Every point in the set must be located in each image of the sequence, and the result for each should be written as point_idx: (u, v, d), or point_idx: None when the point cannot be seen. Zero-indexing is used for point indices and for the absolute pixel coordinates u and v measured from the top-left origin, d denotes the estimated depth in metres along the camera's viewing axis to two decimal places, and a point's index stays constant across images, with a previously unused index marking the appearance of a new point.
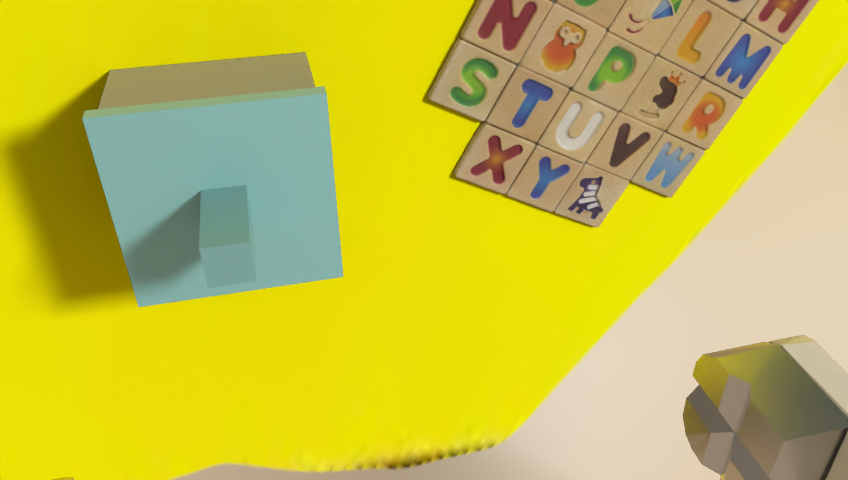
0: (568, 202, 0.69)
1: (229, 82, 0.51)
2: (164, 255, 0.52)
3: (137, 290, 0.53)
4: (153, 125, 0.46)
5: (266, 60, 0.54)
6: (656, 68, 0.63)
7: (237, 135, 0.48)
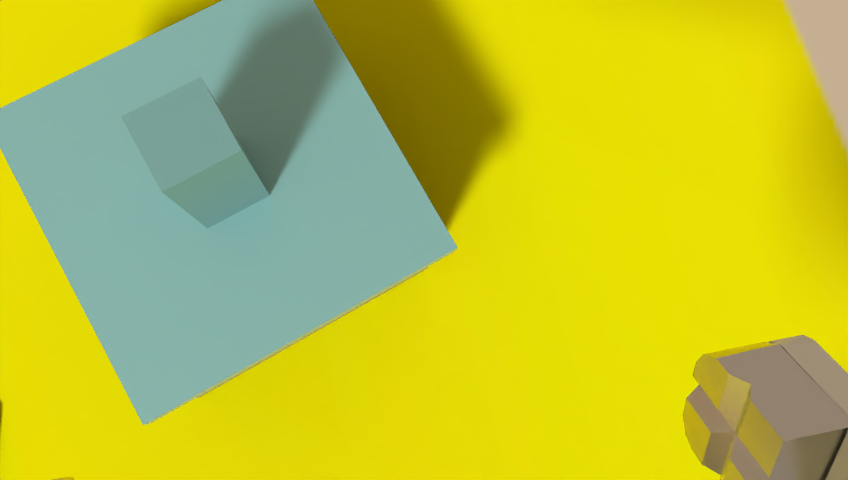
0: None
1: None
2: (285, 68, 0.33)
3: None
4: (367, 273, 0.32)
5: (246, 369, 0.39)
6: None
7: (248, 303, 0.31)
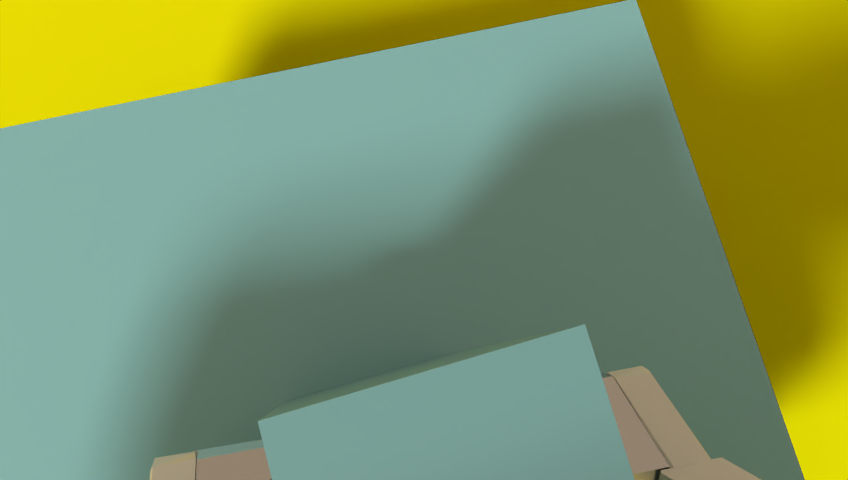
0: None
1: None
2: (581, 216, 0.14)
3: (647, 65, 0.15)
4: None
5: None
6: None
7: None
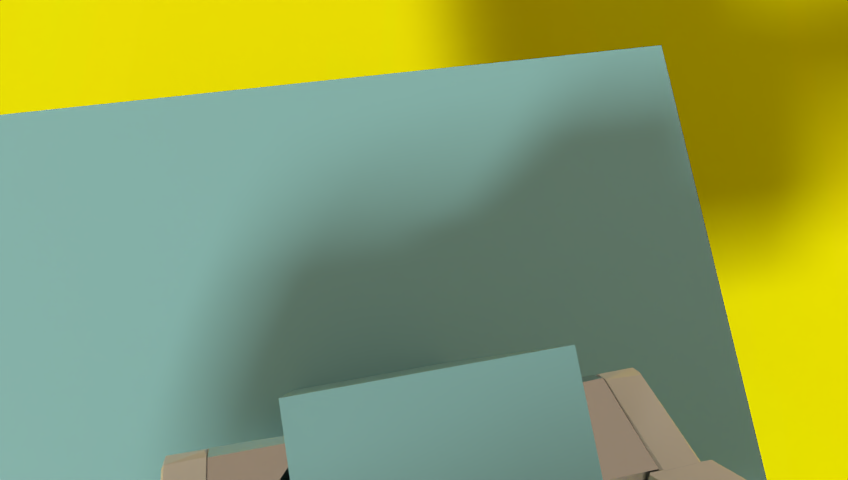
0: None
1: None
2: (589, 245, 0.15)
3: (666, 109, 0.16)
4: None
5: None
6: None
7: None
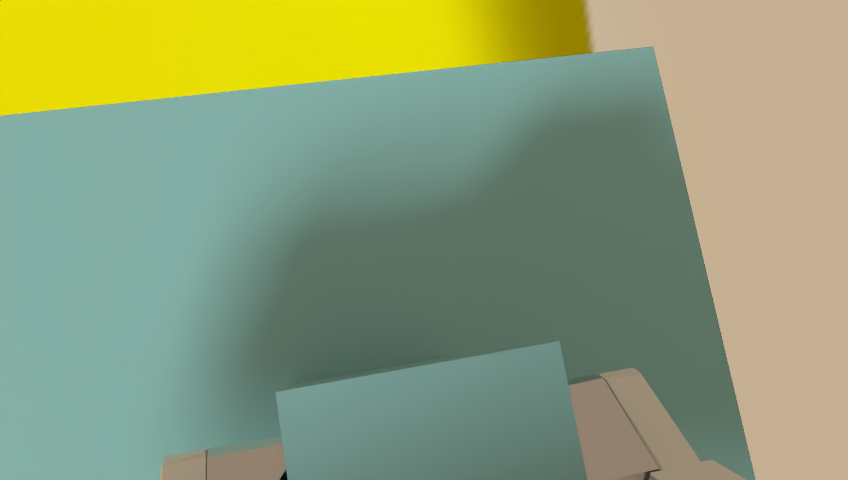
0: None
1: None
2: (581, 243, 0.16)
3: (657, 110, 0.16)
4: None
5: None
6: None
7: None
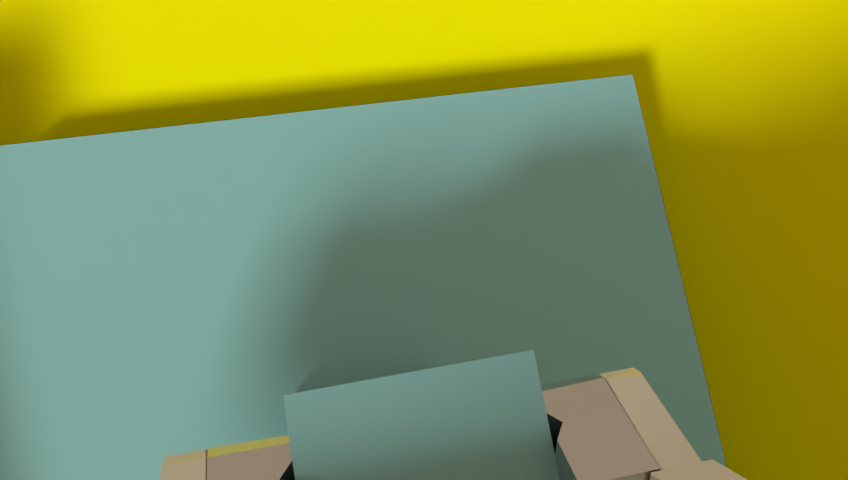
0: None
1: None
2: (565, 259, 0.17)
3: (637, 134, 0.17)
4: None
5: None
6: None
7: None
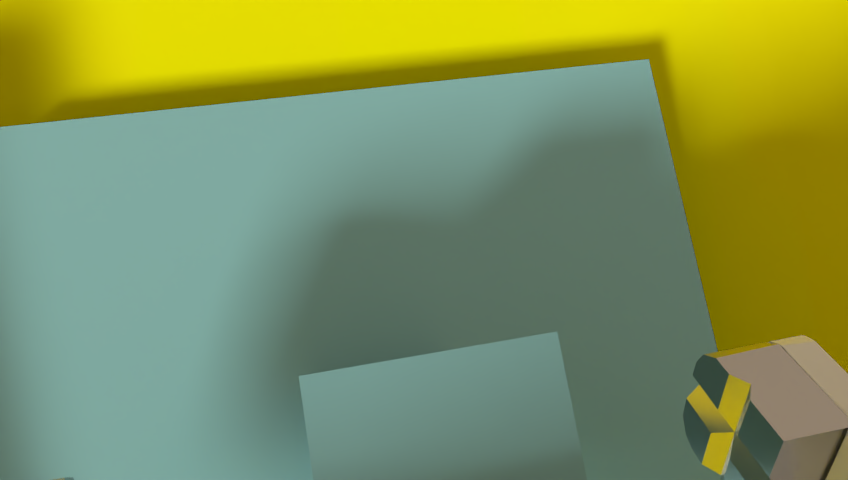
0: None
1: None
2: (579, 246, 0.16)
3: (653, 119, 0.17)
4: None
5: None
6: None
7: None
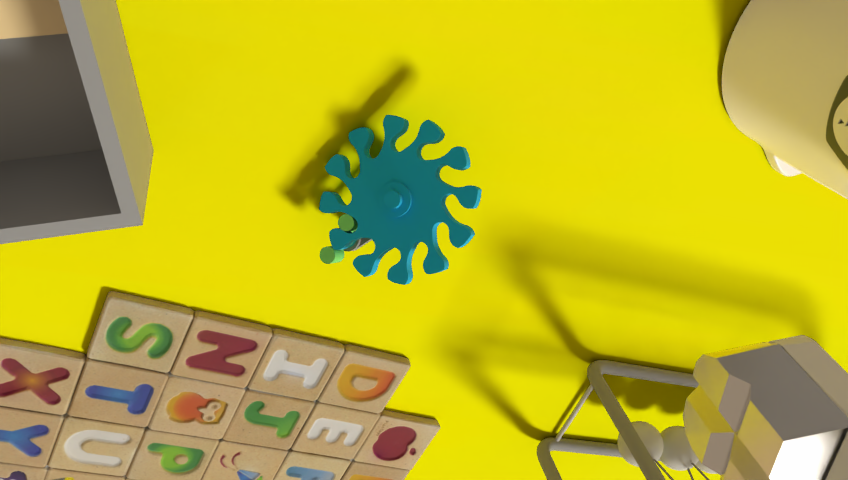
0: None
1: (121, 88, 0.36)
2: None
3: None
4: None
5: (140, 111, 0.40)
6: None
7: None
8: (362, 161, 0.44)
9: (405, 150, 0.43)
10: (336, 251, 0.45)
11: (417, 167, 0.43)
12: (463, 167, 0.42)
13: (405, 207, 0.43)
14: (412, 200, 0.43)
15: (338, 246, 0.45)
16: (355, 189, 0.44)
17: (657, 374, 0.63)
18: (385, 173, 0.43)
